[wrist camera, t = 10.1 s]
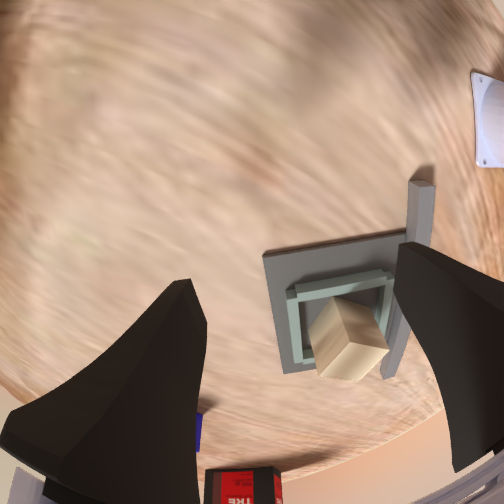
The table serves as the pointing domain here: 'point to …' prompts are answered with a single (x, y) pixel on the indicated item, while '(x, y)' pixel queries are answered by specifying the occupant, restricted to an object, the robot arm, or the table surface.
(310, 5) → the table surface
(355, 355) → the block
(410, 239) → the rail
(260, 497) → the cleaning product box
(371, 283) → the keeper cradle
